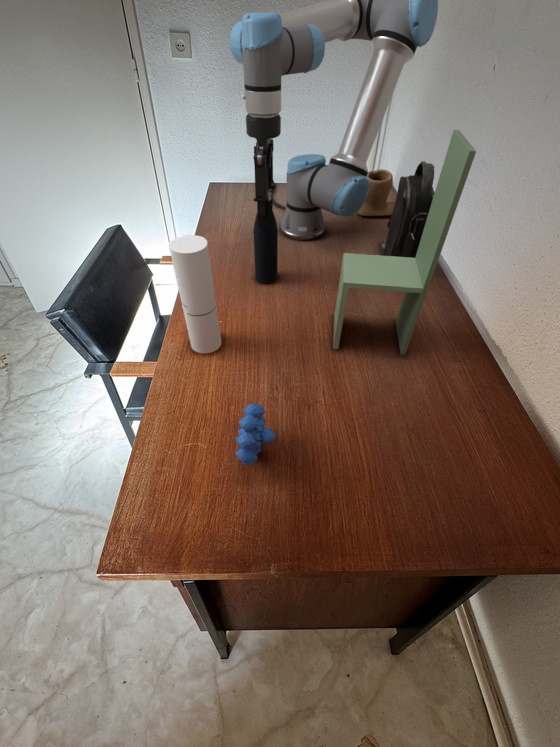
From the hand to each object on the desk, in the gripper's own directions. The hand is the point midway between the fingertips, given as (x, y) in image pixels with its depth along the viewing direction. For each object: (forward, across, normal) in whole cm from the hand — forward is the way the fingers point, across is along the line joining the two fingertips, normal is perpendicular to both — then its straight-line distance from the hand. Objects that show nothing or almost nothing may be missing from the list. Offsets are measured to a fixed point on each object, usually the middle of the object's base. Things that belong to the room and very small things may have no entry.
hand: (265, 221), depth 95 cm
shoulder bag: (+17, -14, +39) cm, 45 cm away
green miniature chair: (+17, +22, +28) cm, 39 cm away
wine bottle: (+17, 0, 0) cm, 17 cm away
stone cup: (+17, -49, +34) cm, 62 cm away
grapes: (+17, +58, +7) cm, 61 cm away
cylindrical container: (+17, +30, -10) cm, 36 cm away
